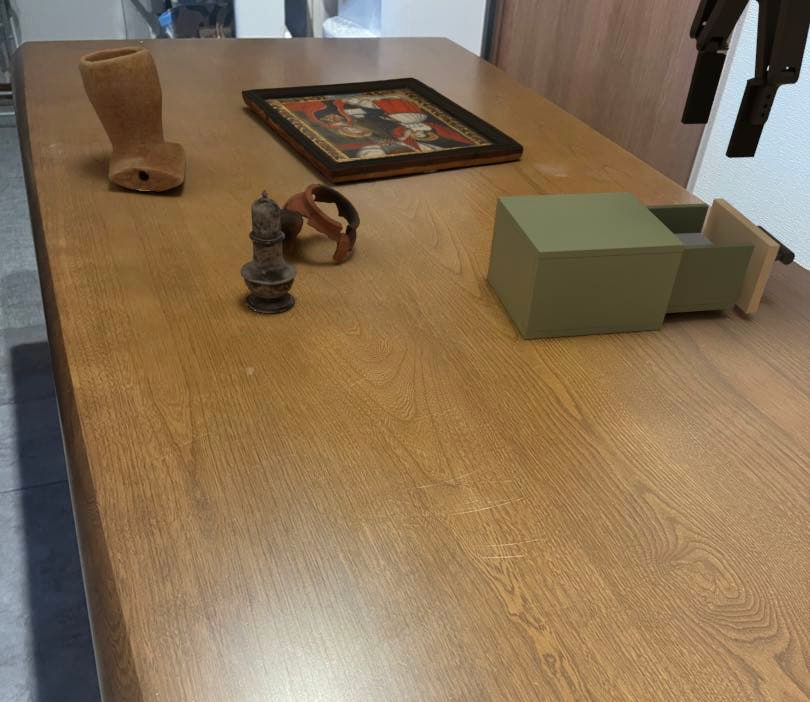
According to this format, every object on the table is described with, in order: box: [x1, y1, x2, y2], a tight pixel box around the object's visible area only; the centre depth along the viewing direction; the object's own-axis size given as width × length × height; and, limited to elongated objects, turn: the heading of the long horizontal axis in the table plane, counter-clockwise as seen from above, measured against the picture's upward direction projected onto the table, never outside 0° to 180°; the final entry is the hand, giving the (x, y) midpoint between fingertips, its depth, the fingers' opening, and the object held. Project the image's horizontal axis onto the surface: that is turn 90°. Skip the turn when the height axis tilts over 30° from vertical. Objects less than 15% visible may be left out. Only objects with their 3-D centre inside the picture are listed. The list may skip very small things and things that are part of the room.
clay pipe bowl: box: [78, 46, 187, 192], centre depth 112 cm, size 15×12×15 cm
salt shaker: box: [239, 189, 298, 314], centre depth 90 cm, size 6×6×12 cm
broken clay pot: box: [280, 183, 361, 263], centre depth 101 cm, size 12×10×8 cm
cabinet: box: [486, 191, 685, 340], centre depth 94 cm, size 16×14×10 cm
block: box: [674, 232, 713, 246], centre depth 97 cm, size 4×4×4 cm
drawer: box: [644, 197, 796, 314], centre depth 97 cm, size 19×12×8 cm, turn 103°
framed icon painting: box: [241, 77, 524, 183], centre depth 133 cm, size 38×35×3 cm
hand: (715, 138), depth 88 cm, fingers open, 9 cm apart
